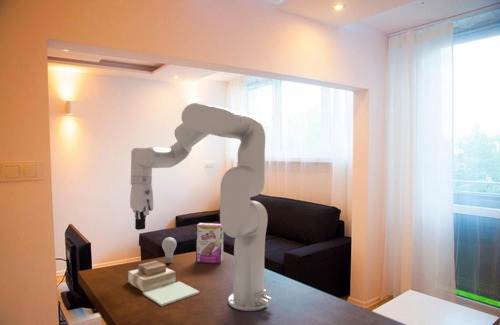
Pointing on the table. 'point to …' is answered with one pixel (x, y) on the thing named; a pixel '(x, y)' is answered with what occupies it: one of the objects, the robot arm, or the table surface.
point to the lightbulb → (169, 248)
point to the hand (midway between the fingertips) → (140, 228)
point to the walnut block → (151, 268)
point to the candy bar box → (209, 243)
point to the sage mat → (170, 293)
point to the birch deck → (151, 279)
